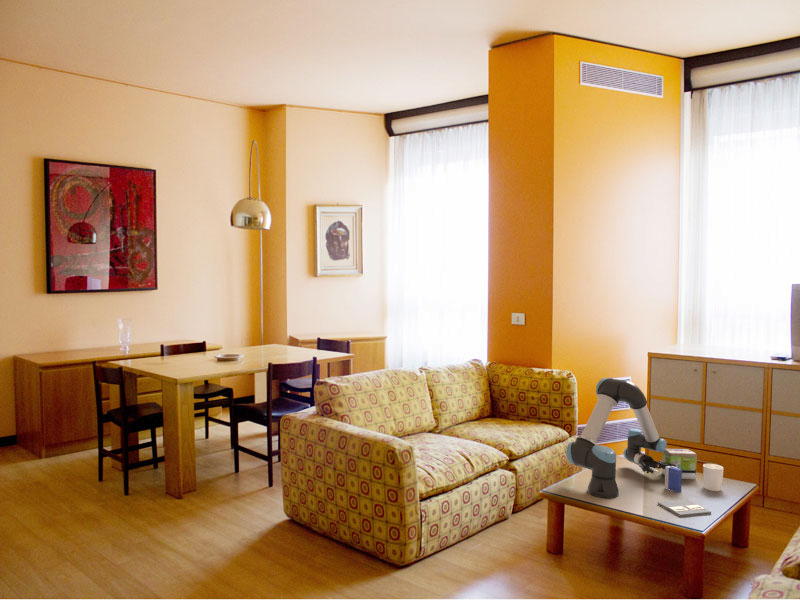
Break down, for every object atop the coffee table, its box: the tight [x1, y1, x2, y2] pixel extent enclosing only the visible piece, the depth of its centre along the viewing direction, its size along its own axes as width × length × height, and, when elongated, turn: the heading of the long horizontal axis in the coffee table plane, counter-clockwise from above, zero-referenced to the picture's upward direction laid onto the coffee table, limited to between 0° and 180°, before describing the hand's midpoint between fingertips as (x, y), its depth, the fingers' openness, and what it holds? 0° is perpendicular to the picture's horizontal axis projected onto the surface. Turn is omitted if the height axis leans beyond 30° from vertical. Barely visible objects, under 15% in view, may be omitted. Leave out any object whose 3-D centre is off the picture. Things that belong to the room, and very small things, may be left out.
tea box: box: [661, 448, 698, 480], centre depth 342 cm, size 15×10×15 cm, turn 91°
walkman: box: [664, 466, 683, 493], centre depth 320 cm, size 8×3×12 cm, turn 33°
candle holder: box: [702, 463, 724, 492], centre depth 323 cm, size 10×10×12 cm
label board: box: [657, 499, 712, 518], centre depth 293 cm, size 17×16×2 cm
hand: (669, 472), depth 324 cm, fingers open, 13 cm apart
